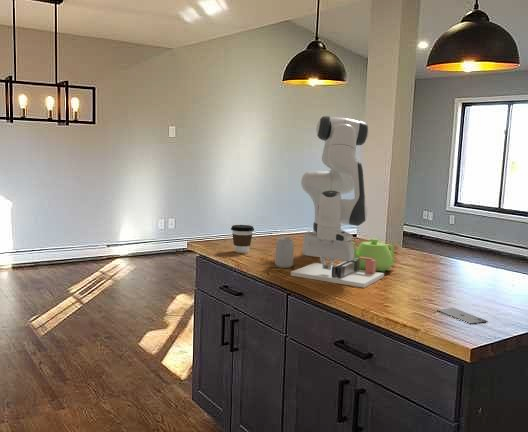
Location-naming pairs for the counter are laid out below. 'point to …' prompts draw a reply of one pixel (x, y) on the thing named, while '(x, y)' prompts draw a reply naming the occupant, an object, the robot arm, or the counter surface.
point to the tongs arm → (334, 268)
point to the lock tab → (369, 264)
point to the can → (284, 252)
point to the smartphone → (462, 315)
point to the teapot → (375, 254)
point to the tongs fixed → (348, 268)
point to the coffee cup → (242, 237)
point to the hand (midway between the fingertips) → (326, 269)
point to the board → (326, 275)
